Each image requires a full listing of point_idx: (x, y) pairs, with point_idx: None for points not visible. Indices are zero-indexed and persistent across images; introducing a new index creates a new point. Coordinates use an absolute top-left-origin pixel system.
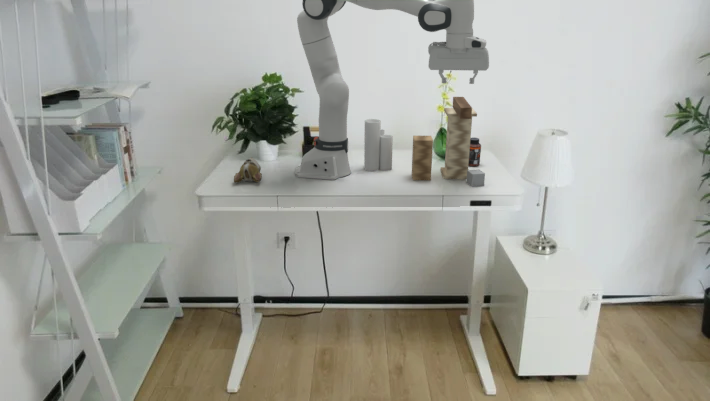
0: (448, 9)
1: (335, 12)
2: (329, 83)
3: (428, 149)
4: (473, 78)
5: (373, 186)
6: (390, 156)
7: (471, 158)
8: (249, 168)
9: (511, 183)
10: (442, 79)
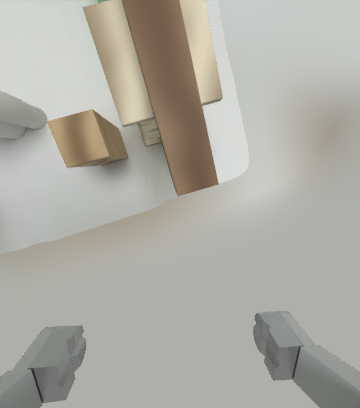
0: None
1: None
2: None
3: (106, 158)
4: (305, 380)
5: (54, 209)
6: (26, 117)
7: None
8: None
9: (245, 135)
10: (40, 390)
